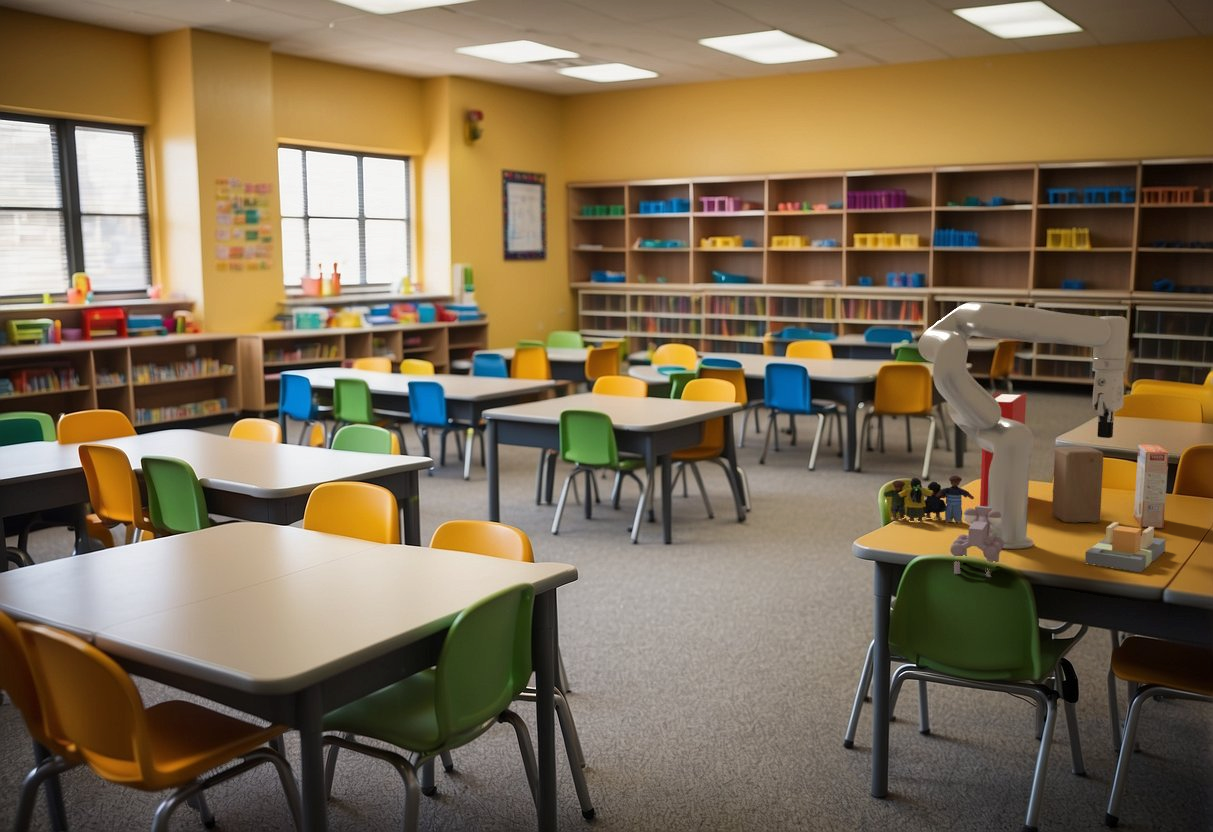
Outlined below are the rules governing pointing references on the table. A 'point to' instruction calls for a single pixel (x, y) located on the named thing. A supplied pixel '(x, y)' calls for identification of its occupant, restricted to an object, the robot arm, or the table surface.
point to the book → (1010, 409)
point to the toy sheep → (979, 535)
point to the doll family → (927, 500)
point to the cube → (1126, 539)
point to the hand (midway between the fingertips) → (1104, 437)
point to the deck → (1124, 560)
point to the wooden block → (1077, 484)
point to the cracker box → (1151, 485)
